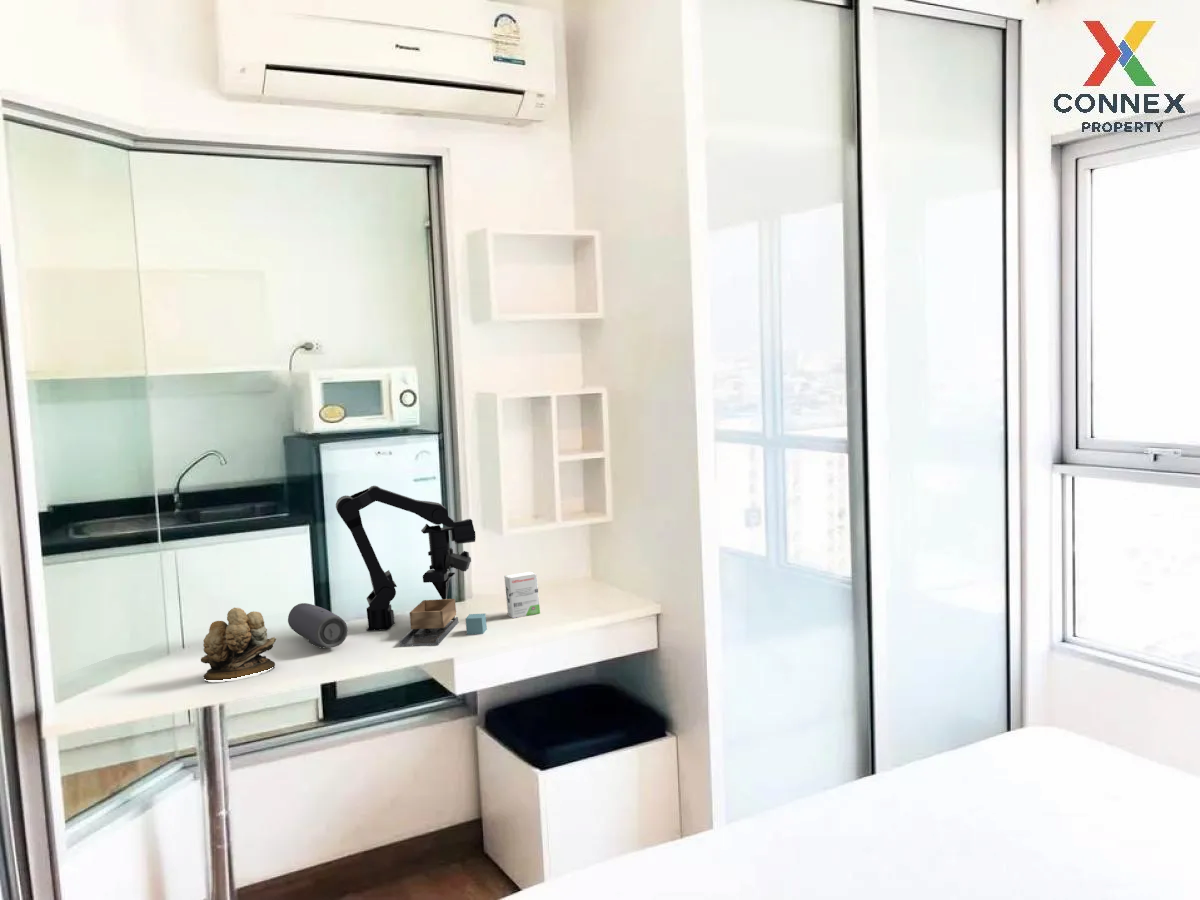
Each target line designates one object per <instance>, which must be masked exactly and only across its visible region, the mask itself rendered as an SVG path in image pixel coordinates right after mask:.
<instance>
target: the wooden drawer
mask: <svg viewBox="0 0 1200 900" xmlns="http://www.w3.org/2000/svg"><path fill="white" fill-rule="evenodd" d="M456 616H457V607H456V598H447V599H442V598H440V599H423V600H422V601H421V602H420V603H418V605H416V606H415V607H414V608H413V609H411V611H410V612H409V623H410V630H411V629H413V632H418V630H419V629H428V628H440V631H444V629H445V626H446V625H447V624H448V623H449V622H450V621H453V620H454V619H455V618H456Z"/></svg>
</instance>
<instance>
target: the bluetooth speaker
mask: <svg viewBox="0 0 1200 900" xmlns="http://www.w3.org/2000/svg"><path fill="white" fill-rule="evenodd" d="M287 617H288V618H287V623H288V626H289V627H290V629H291V630H292V631H294V632H295V633H296V634H298V635H299V636H300V637H302V638H303V639H304V640H307V641H308V643H309V644H311V645H312V644H313V645H312V646H314V645H315V646H314V647H316V646H317V648H319V647H321V648H320V649H324V648H323V647H325V648H336V647H338V646H341V645H342V644H343V643H344V642H345V640H346V639H347V636H348V632H349V631H348V630H349V629H348V624H347V623H346V622H345V620H344V618H342V617H340V616H339V615H337V614H336V613H334V612H332V611H330V610H328V609H326V608H323V607H320V606H318V605H315V604H312V603H306V602H305V603H304V602H303V603H301V602H300V603H298V604H296V605H294V606H293V607H292V608H291V610H290V611H289V613H288V616H287Z"/></svg>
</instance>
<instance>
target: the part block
mask: <svg viewBox="0 0 1200 900" xmlns="http://www.w3.org/2000/svg"><path fill="white" fill-rule="evenodd" d="M486 616H487V615H486V613H469V614H468V616H466V618H465V629H466V635H483V634H484V633H485V632H486V631H487V630H488V628H487V627H488V626H487V617H486Z"/></svg>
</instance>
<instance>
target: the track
mask: <svg viewBox="0 0 1200 900" xmlns="http://www.w3.org/2000/svg"><path fill="white" fill-rule="evenodd" d="M458 624H459V617H458V616H455V619H454V620H451V621H450V622H449V623H448V624H447V625H446V626H445V629H444V631H440V628H428V629H419V630H418V632H413V629H411V628H410V630H409V631H408V632H407V633H406V634H404V636H402V638H400V639H399V647H421V646H422V647H423V646H426V647H427V646H438V645H440V643H442V642H443V640H444V639H445V638H446V637H447V636H448V635H449V634H450V632H452V630H453V629H454V628H455V627H456V626H457V625H458ZM412 645H413V646H412Z"/></svg>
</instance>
